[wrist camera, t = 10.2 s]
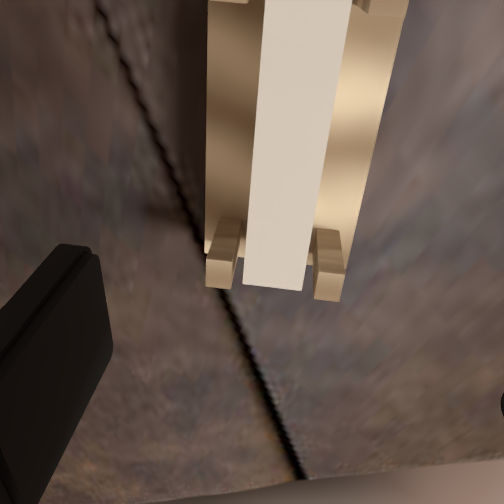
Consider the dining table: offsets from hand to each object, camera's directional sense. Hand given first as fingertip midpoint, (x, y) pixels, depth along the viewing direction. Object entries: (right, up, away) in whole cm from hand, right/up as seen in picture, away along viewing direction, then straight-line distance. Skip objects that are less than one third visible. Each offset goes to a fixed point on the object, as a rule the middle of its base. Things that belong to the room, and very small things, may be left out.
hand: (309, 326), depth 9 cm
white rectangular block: (+1, +9, +16) cm, 19 cm away
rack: (+1, +9, +17) cm, 20 cm away
